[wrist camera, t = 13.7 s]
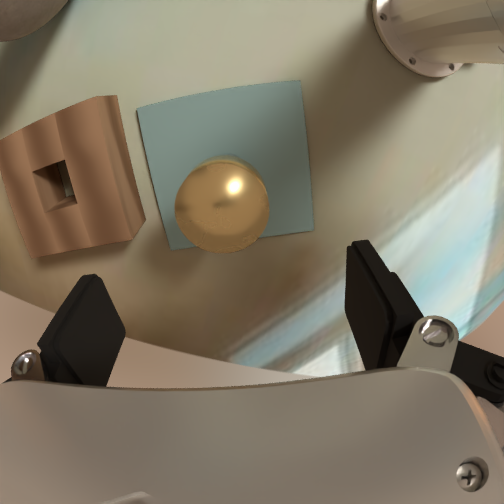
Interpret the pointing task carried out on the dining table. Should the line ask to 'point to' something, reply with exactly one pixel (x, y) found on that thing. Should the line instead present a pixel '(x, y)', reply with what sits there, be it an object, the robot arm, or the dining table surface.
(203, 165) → the pin
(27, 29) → the planter
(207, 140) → the mat
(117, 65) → the dining table surface
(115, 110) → the block
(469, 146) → the dining table surface
